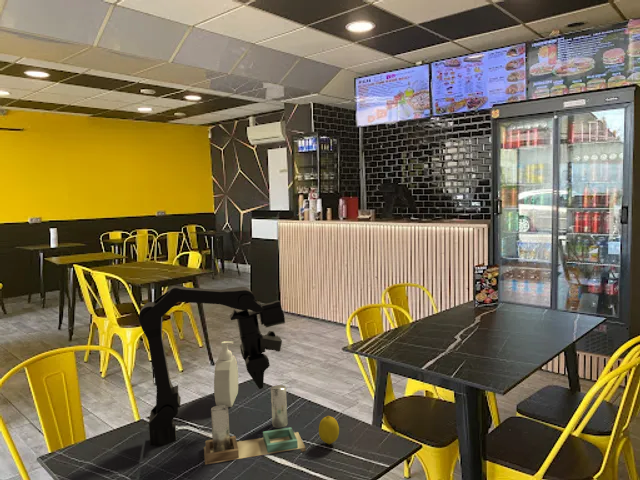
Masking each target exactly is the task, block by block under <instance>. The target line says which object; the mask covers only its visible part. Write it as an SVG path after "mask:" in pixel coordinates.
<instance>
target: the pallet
mask: <svg viewBox="0 0 640 480" xmlns="http://www.w3.org/2000/svg"><path fill="white" fill-rule="evenodd" d="M306 449H307V448H306V445H305V444H304V441H303V439H302V438H301V435H300V434H299V431H296V432H295V431H294V430H293V428H292V426H291V427H290V426H289V427H283V428H276V429H273V430H272V429H271V430H265V431H262V437H259V438H252V439H246V440H239V441H237V438H236V435H234V436H230V450H225V451H219V452H213V438H212V439H207V440H205V446H203V452H204V453H203V455H204V456H203V457H204V465H211V464H216V463H217V464H218V463H222V462H223V463H224V462H228V461H233V460H241V459H246V458H253V457H257V456H264V455H265V456H266V455H270V454H277V453H283V452H288V451H295V450H300V452H301V453H304V452H306Z"/></svg>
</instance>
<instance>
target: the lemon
mask: <svg viewBox="0 0 640 480" xmlns="http://www.w3.org/2000/svg"><path fill="white" fill-rule="evenodd" d="M339 434H340V427H339V424H338V421H337V419H336V418H334V417H333V416H330V415H327V416H325V417H322V419H321V420H320V422H319V425H318V435H319V438H320V440H321V441H323V442H324V443H325V444H327V445H331V444H333V443H335V442H337V440H338V439H339Z"/></svg>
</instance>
